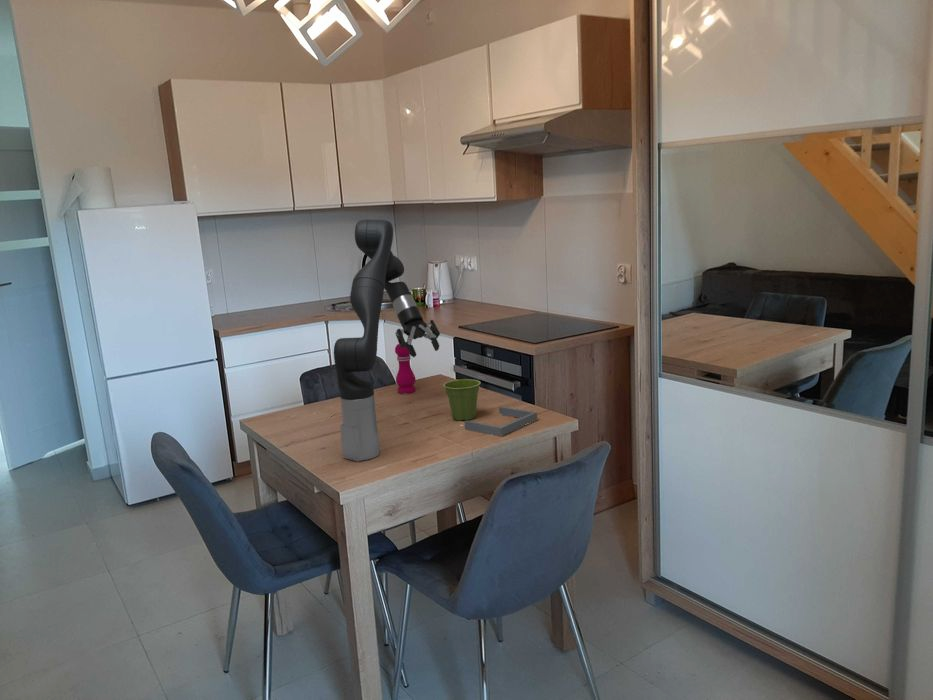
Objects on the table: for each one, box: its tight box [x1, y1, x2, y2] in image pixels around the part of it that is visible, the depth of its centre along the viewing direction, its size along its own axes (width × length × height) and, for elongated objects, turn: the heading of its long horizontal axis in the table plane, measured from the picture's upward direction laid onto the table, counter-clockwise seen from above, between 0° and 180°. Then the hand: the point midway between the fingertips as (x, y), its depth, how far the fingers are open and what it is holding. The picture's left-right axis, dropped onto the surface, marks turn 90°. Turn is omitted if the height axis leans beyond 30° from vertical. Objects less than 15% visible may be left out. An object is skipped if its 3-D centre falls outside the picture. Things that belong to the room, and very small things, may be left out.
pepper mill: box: [394, 343, 417, 394], centre depth 262 cm, size 7×7×20 cm
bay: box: [463, 406, 538, 437], centre depth 218 cm, size 18×14×2 cm
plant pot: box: [443, 378, 481, 421], centre depth 227 cm, size 12×12×11 cm
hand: (426, 352), depth 237 cm, fingers open, 8 cm apart
